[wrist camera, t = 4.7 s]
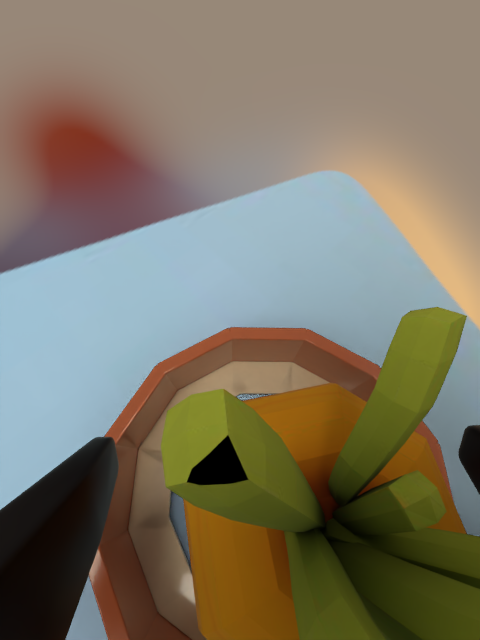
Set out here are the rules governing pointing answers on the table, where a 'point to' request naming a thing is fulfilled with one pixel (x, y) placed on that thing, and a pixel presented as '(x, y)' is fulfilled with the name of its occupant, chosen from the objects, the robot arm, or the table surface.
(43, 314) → the table surface
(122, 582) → the brown round ring
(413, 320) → the carrot
